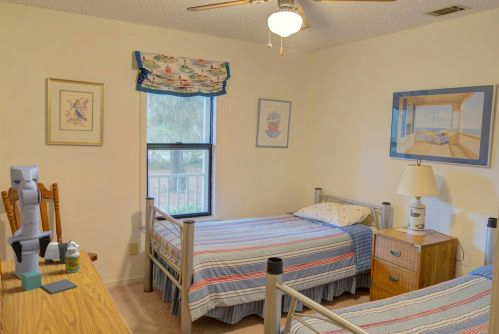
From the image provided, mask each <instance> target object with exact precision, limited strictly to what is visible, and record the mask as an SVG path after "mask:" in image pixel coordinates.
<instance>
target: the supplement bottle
mask: <svg viewBox="0 0 499 334" xmlns="http://www.w3.org/2000/svg"><path fill="white" fill-rule="evenodd" d="M67 252H68V253H67V254H66V255H65V258H66V261H65V262H66V264H65V272H66V273H69V274H72V273H73V274H74V273H78V272H79V271H80V270H81V254H80V252H79V249H78V247H69V248H67Z"/></svg>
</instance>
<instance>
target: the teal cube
mask: <svg viewBox="0 0 499 334" xmlns="http://www.w3.org/2000/svg"><path fill="white" fill-rule="evenodd" d="M20 283H21V284H20V285H21V288H22V289H23V290H25V291H26V292H27V291H33V290H36V289H39V288H42V287H41V285H42V274H40V273H39V272H37V271H32V272H28V273H23V274H21V279H20Z"/></svg>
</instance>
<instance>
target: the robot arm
mask: <svg viewBox="0 0 499 334" xmlns="http://www.w3.org/2000/svg"><path fill="white" fill-rule="evenodd" d="M9 171H10V172H9V173H10V175H9V176H10V185H11V188H12V189H14V190H16V192H17V195H18V204H19V205H18V206H19V220H20V228H18V229H17V230H16V231H15V232H14V233H13V235H12V236H9V237H7V238H6V239H7V242H6V243H7V244H8V245H10V247H11V248H12V250H13V252H14V253H15V255H14V271H12V273H13V275H15V276H16V277H18V278H19V279H20V280H21V274H23V273H28V272H32V271H37V272H39V273H40V274H41V275H43V272H42V271H41V270H40V267H39V261H40V260H39V257H40V258H41V259H44V257H45V253H46V249H47V247H48V245H49V243H51V240H52V239H51V238H53V235H54V234H53V231H52V230H46V231H41V230H40V205H41V199H42V197H41V191H40V188H38V184H39V167H38V166H37V164H35V165H11V166H9Z"/></svg>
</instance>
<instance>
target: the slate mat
mask: <svg viewBox="0 0 499 334" xmlns="http://www.w3.org/2000/svg"><path fill="white" fill-rule="evenodd" d="M40 288H42V289H44V290H45V291H47V292H48V293H50V294H51V295H54V294H57V293H60V292H64V291H67V290H72V289H75V288H78V285H77V284H76V283H75V282H72V281H70V280H69V279H67V278H65V279H60V280H57V281H52V282H49V283H46V284H43V285H42V284H41V287H40Z"/></svg>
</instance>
